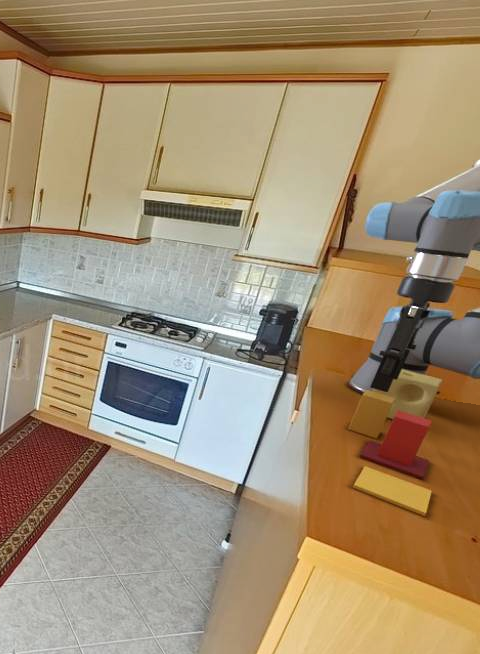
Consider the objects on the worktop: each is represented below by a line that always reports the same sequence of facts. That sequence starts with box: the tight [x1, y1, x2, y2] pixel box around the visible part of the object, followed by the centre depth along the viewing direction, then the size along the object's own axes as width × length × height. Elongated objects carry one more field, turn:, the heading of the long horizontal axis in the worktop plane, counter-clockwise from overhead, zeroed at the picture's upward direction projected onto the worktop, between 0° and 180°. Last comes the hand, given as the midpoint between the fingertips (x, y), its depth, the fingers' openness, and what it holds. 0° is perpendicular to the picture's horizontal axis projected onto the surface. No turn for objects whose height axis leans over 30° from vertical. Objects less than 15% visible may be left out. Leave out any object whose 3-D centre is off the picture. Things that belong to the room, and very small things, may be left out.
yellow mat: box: [352, 465, 433, 517], centre depth 79 cm, size 10×9×1 cm
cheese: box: [373, 369, 443, 420], centre depth 112 cm, size 10×11×10 cm
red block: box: [377, 410, 432, 466], centre depth 89 cm, size 5×5×8 cm
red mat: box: [359, 439, 430, 480], centre depth 90 cm, size 10×9×1 cm
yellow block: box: [347, 390, 395, 439], centre depth 101 cm, size 5×5×8 cm
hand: (384, 383), depth 98 cm, fingers open, 13 cm apart
